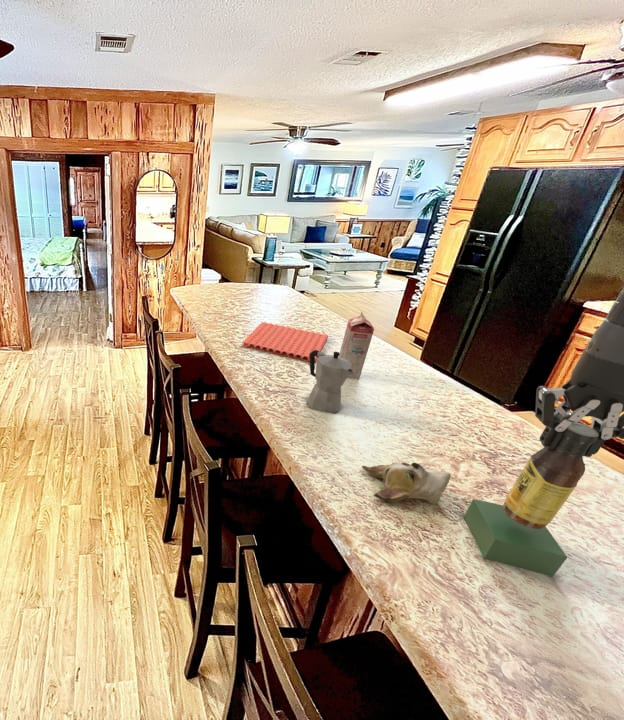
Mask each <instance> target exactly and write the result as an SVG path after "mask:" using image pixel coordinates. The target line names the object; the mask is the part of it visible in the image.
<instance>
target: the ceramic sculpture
mask: <svg viewBox="0 0 624 720" xmlns="http://www.w3.org/2000/svg"><path fill="white" fill-rule="evenodd" d="M361 468H362V469H363V470H365V472H367V473H368V474H369V475H371V476H373V477H374V478H377V479H381V480H382V482H383V487H381V488H380V490H378V491H377V492H376V493H374V494H373V497H375V498H377V499H380V500H383V501H385V502H389V503H398V502H400V501H403V500H406V499H421V500H425V501H426V502H428V503H430V504H433V505H434V504H436V503H437V504H438V502H439V501H440V498H441V496H442V494H443V493H444V492H445V491H446V489H447V487H448V485H449V483H450V479H451V477H452V474H451V473H450V472H444V471H442V470H438V469H426V468H425V467H424V466H423V465H421V463H418V462H411V463H407V462H393V463H390V464H385V465H384V464H380V465H379V464H378V465H374V466H367V465H362V466H361Z"/></svg>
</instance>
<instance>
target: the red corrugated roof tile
mask: <svg viewBox="0 0 624 720" xmlns="http://www.w3.org/2000/svg"><path fill="white" fill-rule="evenodd" d="M328 338H329V335H328V334H326V333H320V332H314V331H309V330H307V329H305V330H302V329H301V328H296V327H290V326H284V325H279V324H277V323H275V324H273V323H271V322H269V323H268V322H266V321H263V322H261V323H259V325H257V327H256V328H254V330H252V332H251V333H250V334H249V335H248V336H247V337H246V338H245V339H244V340H243V341H242V343H241V344H242V346H243V348H249V349H250V350H252V349H255V350H256V351H262V352H263V353H265V352H268V353H269V354H275V355H277V356H279V355H280V356H282V357H288V358H289V359H293V358H294V359H295V360H302V361H303V362H310V359H309V354H310V353H311V352H312V351H314V350H318V351H319V352H323V349H324V347H325V344H326V343H327V340H328ZM315 363H316V364H317V357H316V356H315V362H314V364H315Z"/></svg>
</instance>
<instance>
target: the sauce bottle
mask: <svg viewBox="0 0 624 720" xmlns="http://www.w3.org/2000/svg"><path fill="white" fill-rule="evenodd" d="M563 432H564V434H563V436H562V438H561V439H560V441H559V443H558V444H557V446H556V447H555V449H554V450H547V449H546V448H545V447H544V446H543V447H542V448H541V449H539V450H538V451H536V452H535V453H533V454H532V455H531V456H530V458H529V459H528V461H527V463H526V464H525V465H524V467H523V469H522V471H521V472H520V474H519V476H518V477H517V479H516V480H515V482H514V484H513V485H512V487H511V489H510V491H509V492H508V494H507V496H506V497H505V499H504V502H503V504H502V505H503V507H504V510H505V511H506V514H507V515H508V516H509V517H510V518H512V519H514V520H515V521H517V522H518V523H520V524H523V525H524V526H527V527H531V528H535V529H541V528H544V527H545V526H546V527H547V526H548V525H549V524H550V523H551V522H552V521H553V520H554V518H555V517H556V515H557V514H558V513H559V511H560V510H561V508H562V507H563V505H564V504H565V503H566V501H567V500H568V499H569V497H570V496H571V494H572V493H573V491H574V490H575V489H576V487H577V486H578V483H579V481H580V480H581V479H582V477H583V476H584V475H585V472H586V464H585V462H584V457H585V456H584V455H585V454H586V451H587V449H588V448H589V446H590V445H591V444H592V443H594V442H595V441H596V440H597V438H598V436H599V434H598V432H597V431H596V430H594V429H592V428H591V426H589V425H586V424H584V423H582V422H577V423H572V424H571V425H570V426H569V427H568V428H567V429H566V430H564V431H563Z"/></svg>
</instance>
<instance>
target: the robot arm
mask: <svg viewBox="0 0 624 720" xmlns="http://www.w3.org/2000/svg"><path fill="white" fill-rule="evenodd" d="M535 392H536V393H535V411H534V415H535V418H536V419H537V420H538V421H539V422H540V423H541V424H542V425H543V426H545V428H544V429H543V431H542V433H541V435H540V436H539V442H540V443H541V445H542V446H543V448H544V447H545V448H546V449H547V450H554V449H555V447H556V446H557V444H558V443H559V441H560V439H561V438H562V436H563V434H564V432H563V431H564V430H566V429H567V428H568V427H569V426H570V425H571V424H572V423H579V422H580V421H581V420H582V419H583V418H584V417H591V419H592V420H591V425H590V427H591V428H592V429H594V430H596V431H597V432H598V434H599V436H598V438H597V440H596V441H595V442H594V443H592V444H591V445H590V446H589V448H588V449H587V451H586V454H585V455H584V456H583V457H586V458H591V457H592V456H593V455H596V454H597V453H598V452H599V451H600V449H601V447H603V445H604V443H605V442H606V441H607V440H610V439H612V438H619V439H620V440H624V287H623V288H622V289H621V291H620V292H619V294H618V295H617V297H616V298H615V301H613V304H612V306H611V308H610V310H609V311H608V313H607V315H606V316H605V318H604V320H603V321H602V322H601V324H600V325H599V326H598V327H597V329H596V330H595V331H594V333H593V334H592V336H591V337H590V339H589V341H588V342H587V344H586V346H585V348H584V350H583V352H582V353H581V355H580V357H579V358H578V360H577V362H576V364H575V366H574V368H573V369H572V372H571V376H570V379H569V380H568V381H567V382H565V383H564V384H562V385H561V387H552V388H548V387H546V386H545V385H540V386H538V387H537V388H536V391H535ZM561 398H563V400H562V402H560V403H559V400H560V399H561ZM558 403H559V404H558ZM556 404H558V405H557V406H556V408H555V405H556Z"/></svg>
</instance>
